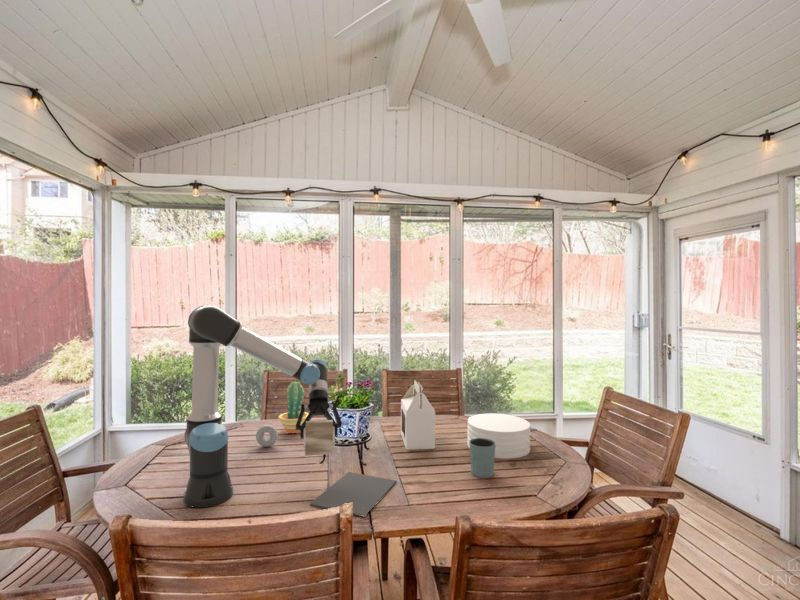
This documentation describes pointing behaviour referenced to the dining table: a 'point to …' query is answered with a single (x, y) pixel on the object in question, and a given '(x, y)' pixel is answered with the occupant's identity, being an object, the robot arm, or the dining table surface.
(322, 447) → the birch tile
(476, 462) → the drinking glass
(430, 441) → the gable box
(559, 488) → the dining table surface
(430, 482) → the dining table surface
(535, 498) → the dining table surface
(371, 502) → the rubber mat
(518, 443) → the plate stack
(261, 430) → the donut
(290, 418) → the potted cactus
